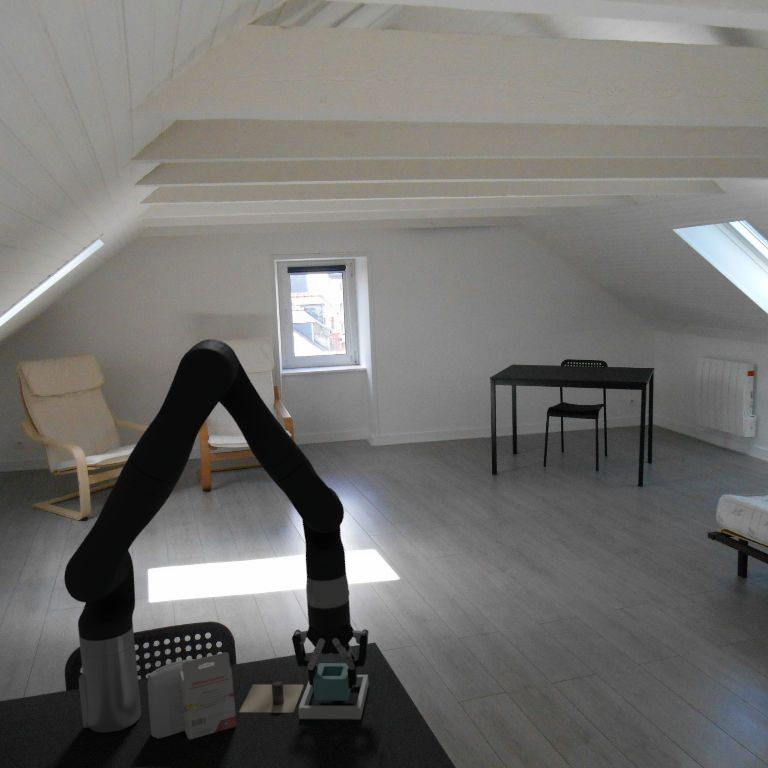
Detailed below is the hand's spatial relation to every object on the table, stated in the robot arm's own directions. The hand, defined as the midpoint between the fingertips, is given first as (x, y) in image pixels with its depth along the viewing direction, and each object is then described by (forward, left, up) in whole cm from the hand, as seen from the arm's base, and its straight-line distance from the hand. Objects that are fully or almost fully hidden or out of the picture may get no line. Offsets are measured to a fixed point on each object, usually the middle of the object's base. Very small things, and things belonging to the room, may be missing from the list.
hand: (333, 686), depth 145 cm
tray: (0, +1, -4) cm, 5 cm away
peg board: (-12, +2, -4) cm, 13 cm away
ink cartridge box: (-21, -7, -5) cm, 23 cm away
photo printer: (-26, -7, -4) cm, 28 cm away
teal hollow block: (0, 0, -1) cm, 1 cm away
